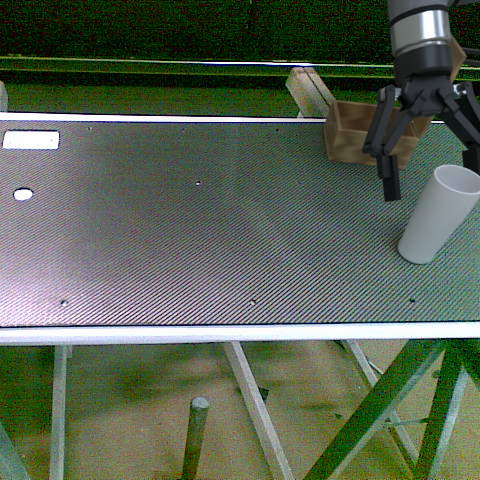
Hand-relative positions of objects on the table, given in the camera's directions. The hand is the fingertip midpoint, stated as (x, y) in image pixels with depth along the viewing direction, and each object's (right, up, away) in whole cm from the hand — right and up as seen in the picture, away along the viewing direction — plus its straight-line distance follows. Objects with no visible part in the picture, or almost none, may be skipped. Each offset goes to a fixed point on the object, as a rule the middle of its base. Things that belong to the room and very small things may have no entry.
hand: (434, 197), depth 70 cm
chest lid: (+8, +22, +15) cm, 28 cm away
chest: (+1, +12, +27) cm, 29 cm away
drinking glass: (0, -9, +6) cm, 10 cm away
